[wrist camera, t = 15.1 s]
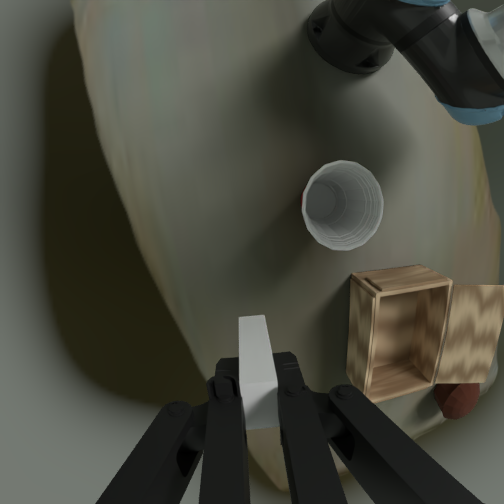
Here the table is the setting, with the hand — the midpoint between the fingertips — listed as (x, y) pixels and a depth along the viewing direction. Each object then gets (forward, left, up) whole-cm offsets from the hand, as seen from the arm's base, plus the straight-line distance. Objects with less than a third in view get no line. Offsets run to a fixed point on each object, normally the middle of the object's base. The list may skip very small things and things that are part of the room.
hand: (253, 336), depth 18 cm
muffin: (+2, +59, -30) cm, 66 cm away
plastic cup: (-12, +6, -30) cm, 33 cm away
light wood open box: (-2, +29, -29) cm, 41 cm away
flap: (-6, +34, -19) cm, 40 cm away
